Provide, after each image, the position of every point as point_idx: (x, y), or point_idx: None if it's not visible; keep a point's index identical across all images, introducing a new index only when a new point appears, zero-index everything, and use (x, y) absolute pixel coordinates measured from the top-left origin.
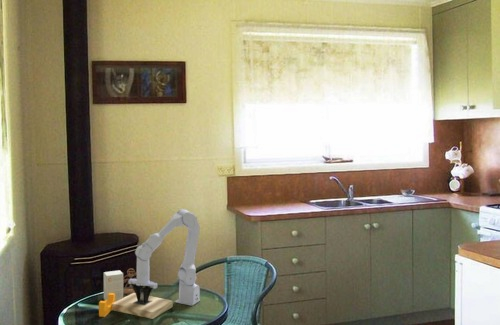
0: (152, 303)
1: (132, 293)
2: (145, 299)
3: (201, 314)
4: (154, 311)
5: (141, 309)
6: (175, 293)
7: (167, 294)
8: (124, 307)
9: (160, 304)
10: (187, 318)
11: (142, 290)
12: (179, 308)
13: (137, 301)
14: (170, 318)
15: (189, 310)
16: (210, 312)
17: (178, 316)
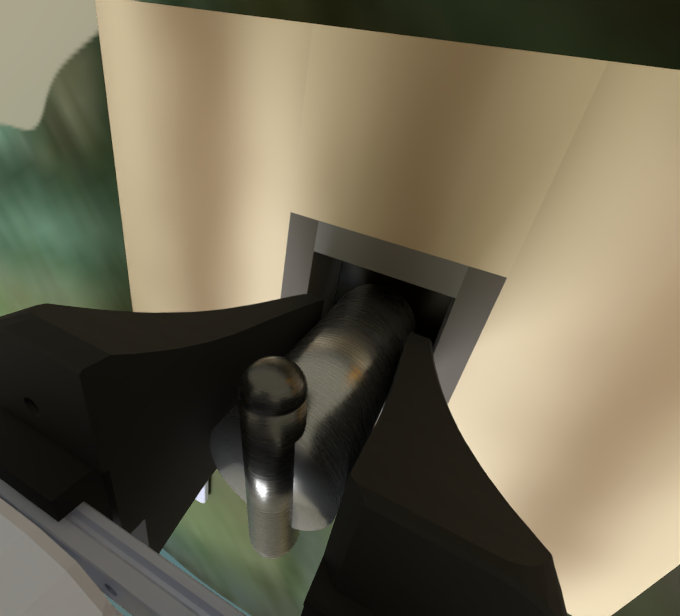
0: (240, 300)
1: (607, 612)
2: (274, 302)
3: (10, 254)
4: (103, 48)
5: (259, 34)
6: (277, 561)
7: (314, 560)
8: (639, 74)
9: (165, 284)
10: (12, 163)
11: (240, 421)
12: None
13: (441, 349)
14: (78, 118)
15: (83, 306)
16: (4, 291)
17: (66, 183)
